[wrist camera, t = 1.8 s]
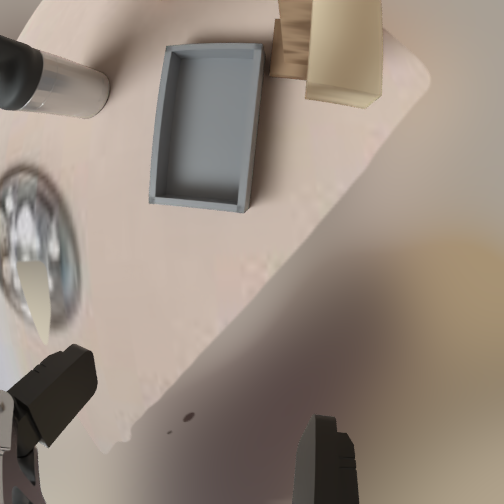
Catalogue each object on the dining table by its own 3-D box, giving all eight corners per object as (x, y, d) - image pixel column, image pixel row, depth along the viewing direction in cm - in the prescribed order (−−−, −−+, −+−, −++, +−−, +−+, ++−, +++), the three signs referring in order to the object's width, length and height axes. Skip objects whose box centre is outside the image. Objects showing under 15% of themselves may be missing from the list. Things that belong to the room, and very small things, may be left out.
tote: (162, 199, 46) (148, 203, 41) (178, 56, 39) (166, 46, 34) (249, 208, 45) (244, 213, 40) (265, 56, 38) (262, 43, 33)
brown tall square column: (268, 88, 39) (219, -52, 9) (275, 22, 36) (246, -132, 5) (349, 99, 38) (448, -14, 8) (352, 33, 35) (414, -107, 4)
